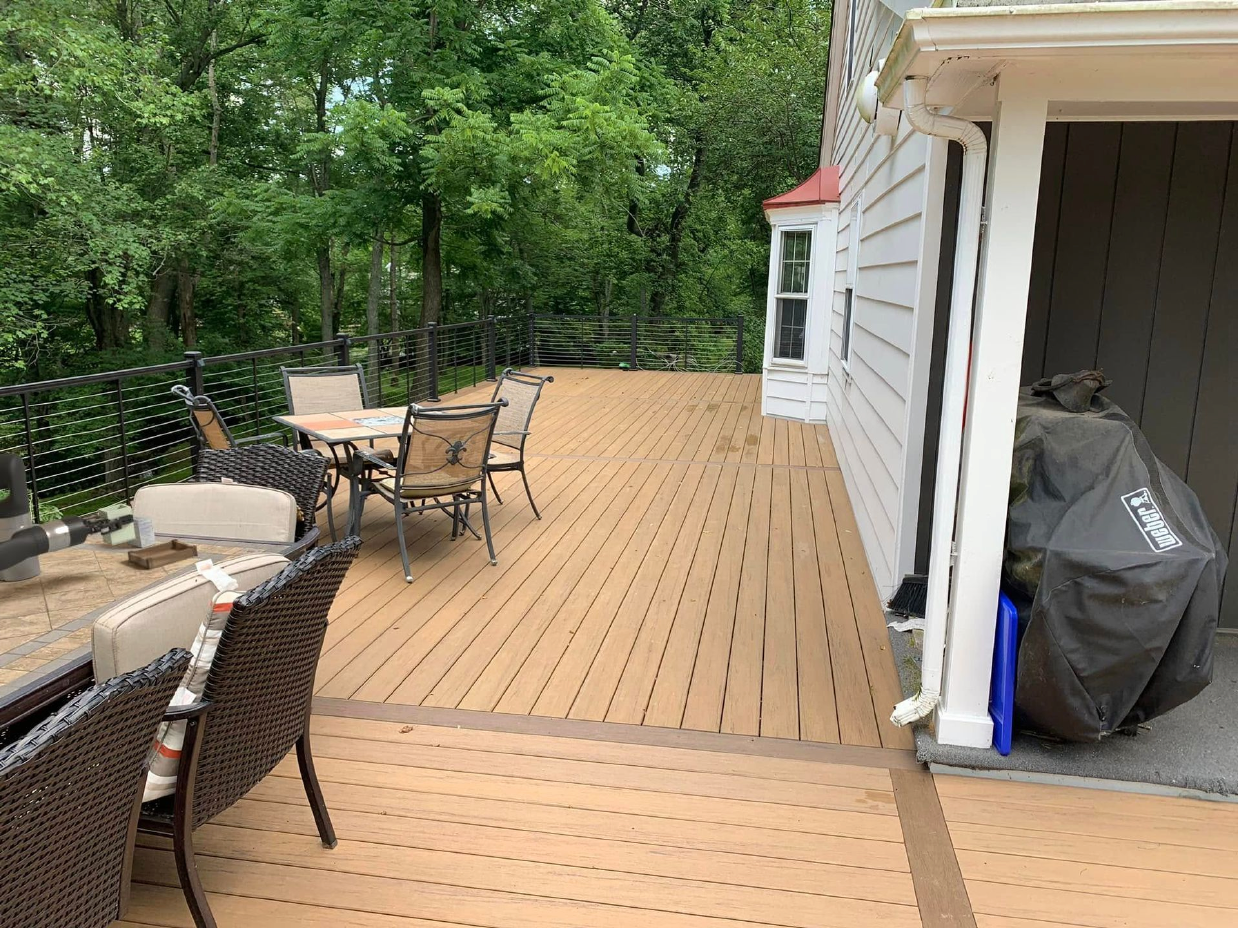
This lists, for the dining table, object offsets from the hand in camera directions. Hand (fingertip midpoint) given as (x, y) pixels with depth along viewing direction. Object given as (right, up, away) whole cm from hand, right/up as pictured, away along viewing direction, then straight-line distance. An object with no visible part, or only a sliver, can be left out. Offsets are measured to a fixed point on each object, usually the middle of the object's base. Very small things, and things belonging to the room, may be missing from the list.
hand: (125, 516), depth 238 cm
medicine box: (-11, -10, +28) cm, 31 cm away
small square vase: (-1, -6, -1) cm, 7 cm away
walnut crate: (+3, -13, +14) cm, 19 cm away
